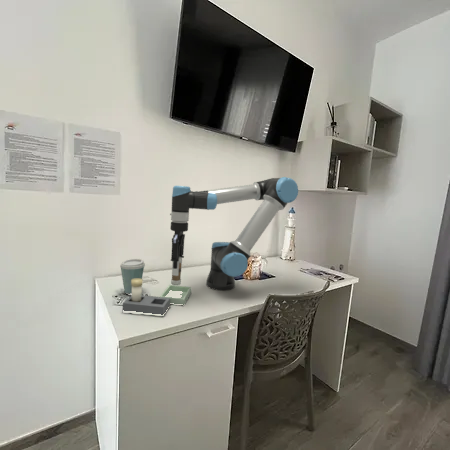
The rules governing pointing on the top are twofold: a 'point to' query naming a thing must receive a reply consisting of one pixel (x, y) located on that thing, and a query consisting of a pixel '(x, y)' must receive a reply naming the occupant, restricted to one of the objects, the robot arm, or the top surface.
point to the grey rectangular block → (148, 305)
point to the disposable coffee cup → (131, 272)
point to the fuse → (136, 289)
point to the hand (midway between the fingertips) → (176, 273)
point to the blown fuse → (177, 279)
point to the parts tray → (185, 294)
